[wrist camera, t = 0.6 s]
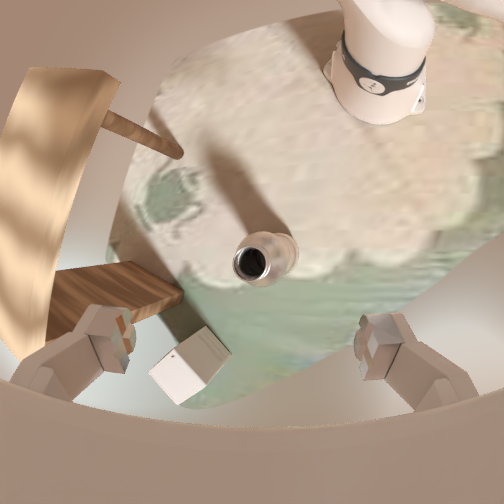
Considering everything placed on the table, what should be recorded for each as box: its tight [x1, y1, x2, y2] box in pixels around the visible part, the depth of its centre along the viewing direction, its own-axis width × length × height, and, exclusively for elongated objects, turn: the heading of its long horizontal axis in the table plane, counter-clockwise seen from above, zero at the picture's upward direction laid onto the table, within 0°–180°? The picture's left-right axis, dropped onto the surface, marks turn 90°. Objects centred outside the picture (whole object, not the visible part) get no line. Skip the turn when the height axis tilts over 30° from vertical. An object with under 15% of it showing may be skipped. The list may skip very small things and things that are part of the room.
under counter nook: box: [0, 67, 184, 362], centre depth 38 cm, size 27×13×34 cm, turn 156°
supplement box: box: [148, 326, 231, 405], centre depth 48 cm, size 7×7×13 cm
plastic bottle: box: [233, 231, 299, 287], centre depth 41 cm, size 6×7×20 cm
